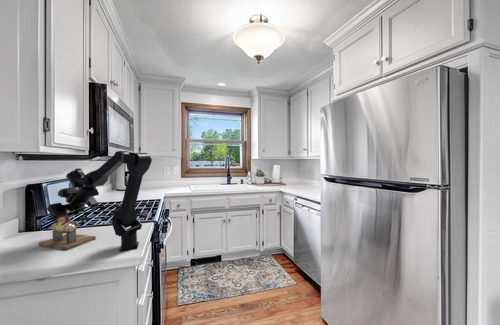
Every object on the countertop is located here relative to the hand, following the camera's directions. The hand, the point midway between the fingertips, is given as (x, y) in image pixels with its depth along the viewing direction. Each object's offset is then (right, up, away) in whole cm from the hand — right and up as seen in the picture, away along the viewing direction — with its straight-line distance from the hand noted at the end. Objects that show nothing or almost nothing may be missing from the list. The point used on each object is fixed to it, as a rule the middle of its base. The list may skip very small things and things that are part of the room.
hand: (65, 218), depth 103 cm
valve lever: (+7, -2, -2) cm, 7 cm away
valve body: (+5, -8, -5) cm, 11 cm away
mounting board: (+5, -9, -5) cm, 11 cm away
